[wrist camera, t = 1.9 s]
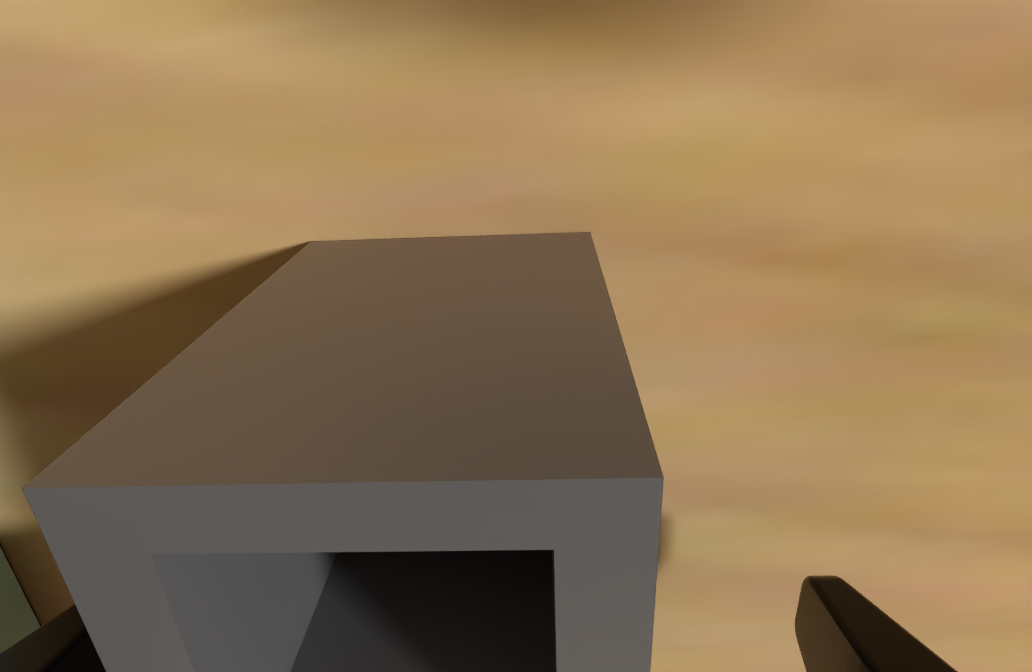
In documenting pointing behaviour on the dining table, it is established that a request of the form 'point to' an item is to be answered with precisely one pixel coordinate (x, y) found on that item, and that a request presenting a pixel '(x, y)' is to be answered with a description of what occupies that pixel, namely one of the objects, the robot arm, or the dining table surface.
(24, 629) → the header board
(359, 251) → the plug housing
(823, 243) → the dining table surface
